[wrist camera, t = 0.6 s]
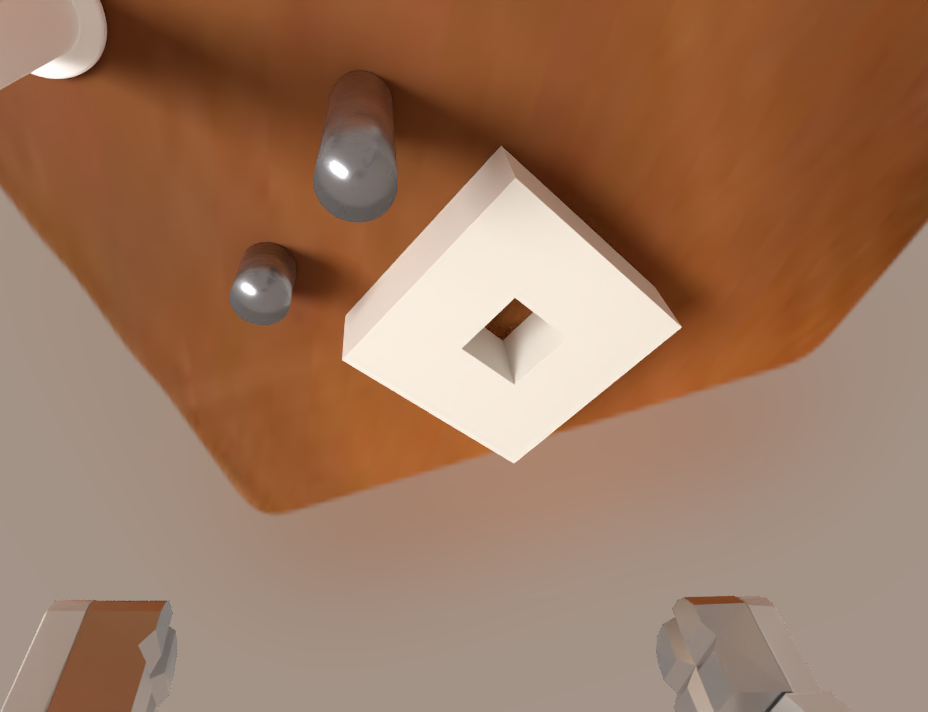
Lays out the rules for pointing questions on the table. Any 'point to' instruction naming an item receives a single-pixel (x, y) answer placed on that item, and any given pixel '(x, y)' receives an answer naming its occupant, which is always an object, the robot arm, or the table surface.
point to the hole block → (487, 293)
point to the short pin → (264, 284)
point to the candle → (50, 38)
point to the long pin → (357, 150)
